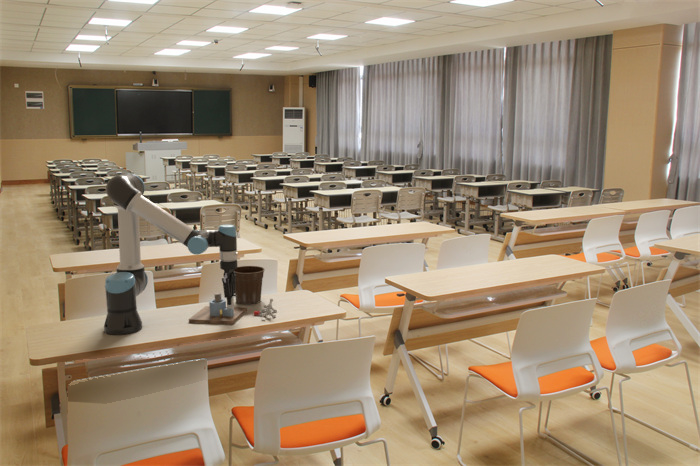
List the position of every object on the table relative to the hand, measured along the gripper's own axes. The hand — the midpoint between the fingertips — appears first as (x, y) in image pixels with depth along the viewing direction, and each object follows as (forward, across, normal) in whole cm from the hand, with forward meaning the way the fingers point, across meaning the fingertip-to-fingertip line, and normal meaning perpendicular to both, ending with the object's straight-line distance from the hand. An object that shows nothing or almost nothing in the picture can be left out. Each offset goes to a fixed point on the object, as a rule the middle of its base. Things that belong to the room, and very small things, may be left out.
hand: (230, 311), depth 265 cm
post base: (+3, +1, +6) cm, 7 cm away
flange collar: (+2, -1, +4) cm, 4 cm away
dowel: (+2, -5, +3) cm, 6 cm away
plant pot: (+3, +27, 0) cm, 27 cm away
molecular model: (+4, +6, -15) cm, 16 cm away
